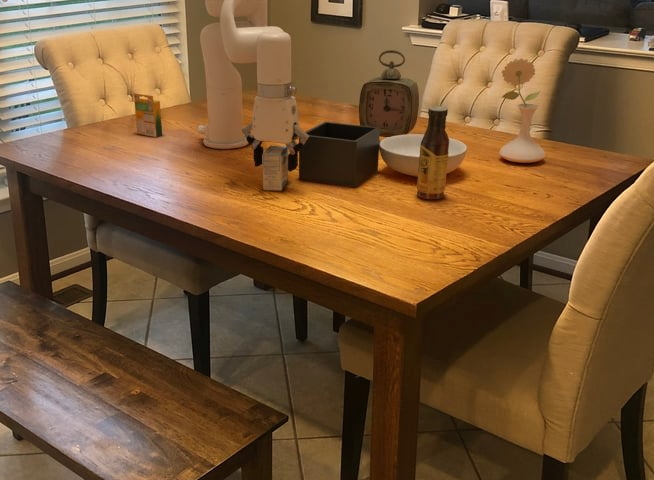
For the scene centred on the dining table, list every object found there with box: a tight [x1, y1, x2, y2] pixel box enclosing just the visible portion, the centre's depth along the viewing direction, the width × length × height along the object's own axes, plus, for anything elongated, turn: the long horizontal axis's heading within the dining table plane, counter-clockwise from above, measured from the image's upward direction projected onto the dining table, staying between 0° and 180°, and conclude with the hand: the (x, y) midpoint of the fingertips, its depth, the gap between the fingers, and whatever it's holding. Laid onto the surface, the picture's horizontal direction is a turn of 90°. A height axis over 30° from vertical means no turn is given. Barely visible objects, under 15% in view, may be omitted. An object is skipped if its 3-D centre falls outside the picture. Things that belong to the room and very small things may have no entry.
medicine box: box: [261, 144, 289, 192], centre depth 188 cm, size 8×4×9 cm, turn 168°
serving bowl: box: [379, 133, 468, 178], centre depth 197 cm, size 21×21×7 cm
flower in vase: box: [498, 58, 546, 164], centre depth 202 cm, size 13×11×25 cm
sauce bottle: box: [416, 105, 450, 201], centre depth 178 cm, size 7×6×20 cm
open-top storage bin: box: [298, 121, 381, 189], centre depth 195 cm, size 15×15×11 cm
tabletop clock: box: [358, 49, 420, 138], centre depth 216 cm, size 14×9×25 cm, turn 68°
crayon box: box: [133, 93, 163, 138], centre depth 231 cm, size 7×3×12 cm, turn 57°
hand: (275, 167), depth 188 cm, fingers open, 8 cm apart
